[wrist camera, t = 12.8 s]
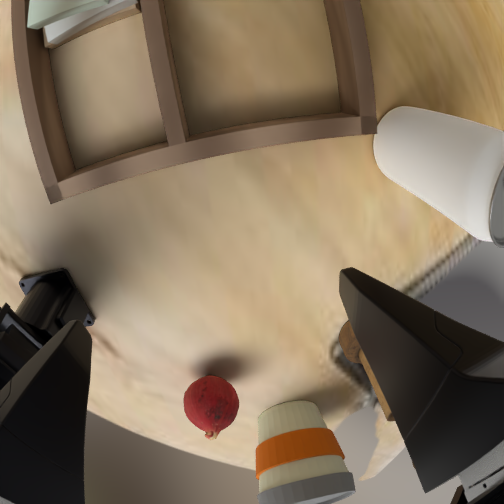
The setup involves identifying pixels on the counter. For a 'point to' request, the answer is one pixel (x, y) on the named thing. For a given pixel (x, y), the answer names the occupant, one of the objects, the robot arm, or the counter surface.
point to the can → (447, 166)
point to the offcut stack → (75, 17)
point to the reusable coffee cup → (299, 457)
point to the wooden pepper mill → (357, 356)
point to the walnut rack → (166, 82)
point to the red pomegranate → (211, 404)
